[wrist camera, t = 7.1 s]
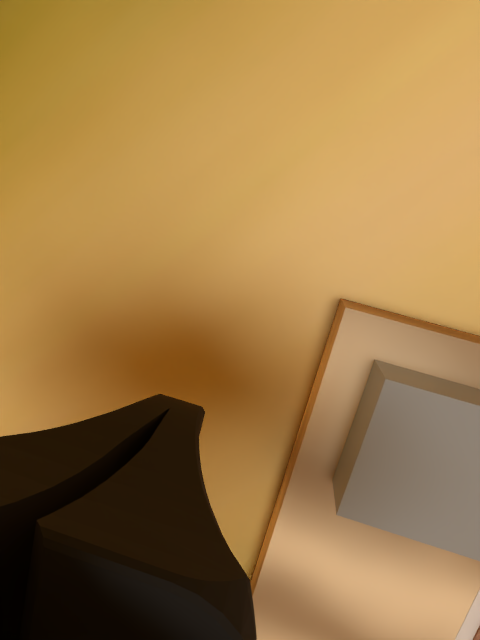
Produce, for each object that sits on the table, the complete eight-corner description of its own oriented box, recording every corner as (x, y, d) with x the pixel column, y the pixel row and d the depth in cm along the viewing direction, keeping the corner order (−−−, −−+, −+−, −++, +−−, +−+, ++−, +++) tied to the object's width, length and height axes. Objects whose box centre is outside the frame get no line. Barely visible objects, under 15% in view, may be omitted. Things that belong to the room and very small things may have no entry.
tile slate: (465, 521, 15) (488, 564, 13) (332, 479, 15) (336, 514, 13) (519, 400, 14) (555, 427, 12) (374, 359, 14) (385, 378, 12)
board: (411, 652, 19) (424, 700, 17) (246, 594, 19) (240, 634, 17) (549, 355, 15) (585, 372, 13) (340, 298, 16) (345, 307, 14)
